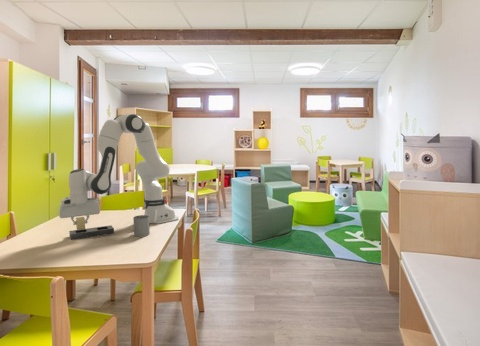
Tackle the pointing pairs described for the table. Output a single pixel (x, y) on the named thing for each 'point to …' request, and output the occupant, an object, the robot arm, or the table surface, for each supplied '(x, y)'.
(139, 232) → the cup
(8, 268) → the table surface
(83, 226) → the block
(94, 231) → the rail
